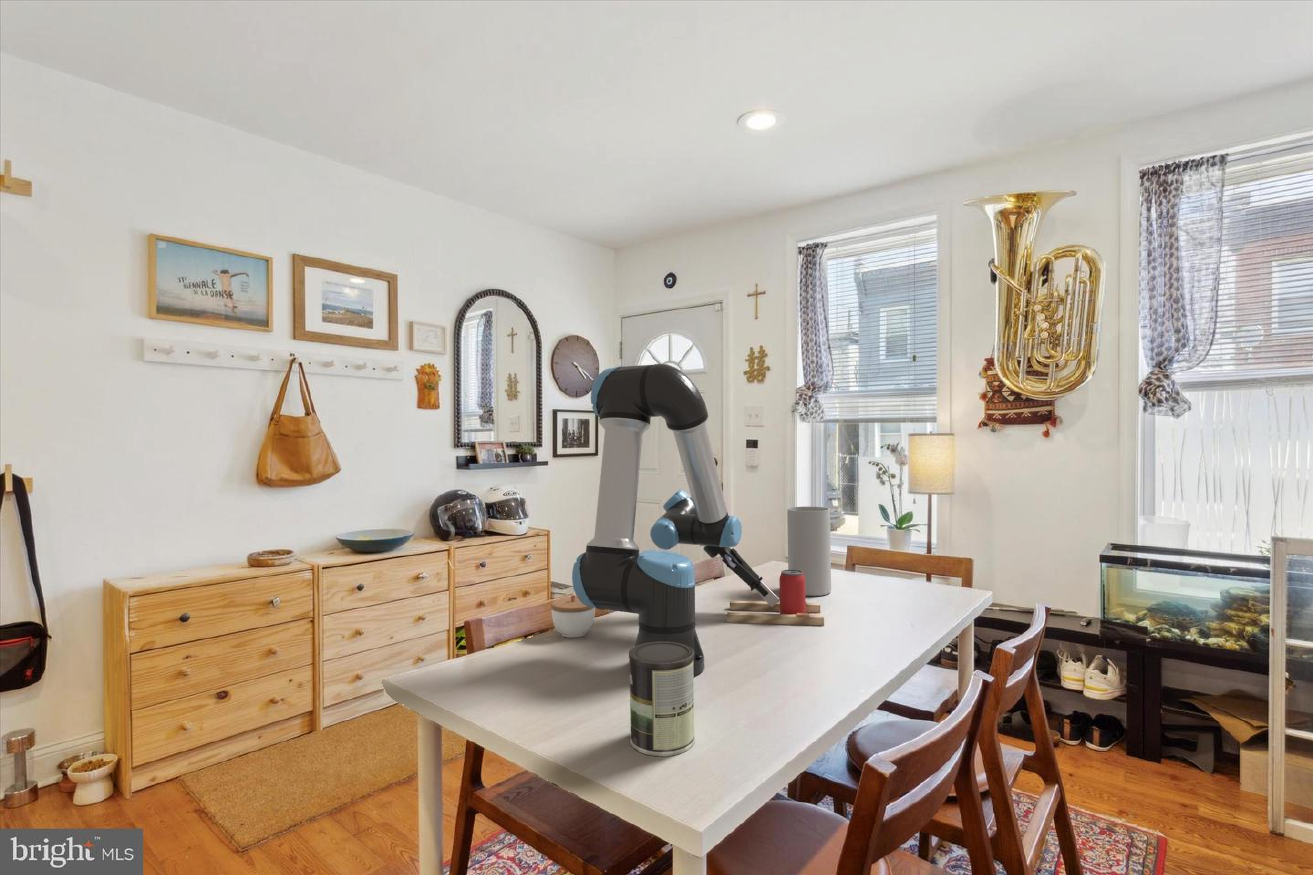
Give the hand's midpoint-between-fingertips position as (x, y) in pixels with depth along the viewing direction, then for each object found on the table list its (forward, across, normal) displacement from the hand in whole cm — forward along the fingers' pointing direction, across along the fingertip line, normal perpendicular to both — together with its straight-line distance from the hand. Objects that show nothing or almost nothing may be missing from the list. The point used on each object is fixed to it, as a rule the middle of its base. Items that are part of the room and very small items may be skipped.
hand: (775, 602), depth 168 cm
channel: (+2, +1, -2) cm, 3 cm away
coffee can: (-11, +72, -16) cm, 74 cm away
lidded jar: (-32, +21, -37) cm, 53 cm away
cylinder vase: (+10, -26, +5) cm, 29 cm away
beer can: (+6, +2, +1) cm, 6 cm away
